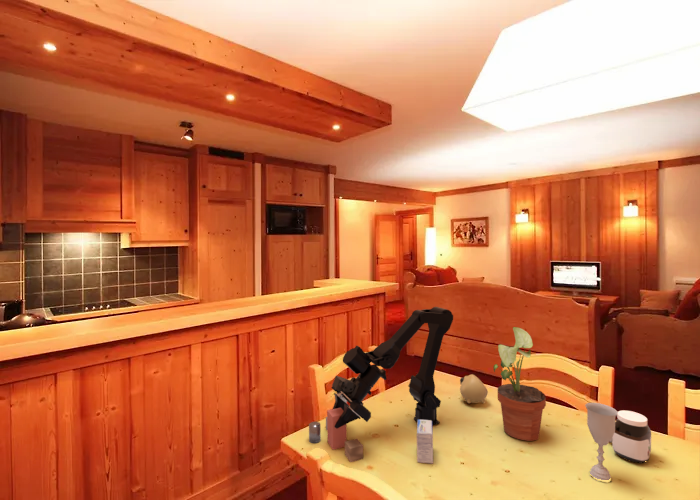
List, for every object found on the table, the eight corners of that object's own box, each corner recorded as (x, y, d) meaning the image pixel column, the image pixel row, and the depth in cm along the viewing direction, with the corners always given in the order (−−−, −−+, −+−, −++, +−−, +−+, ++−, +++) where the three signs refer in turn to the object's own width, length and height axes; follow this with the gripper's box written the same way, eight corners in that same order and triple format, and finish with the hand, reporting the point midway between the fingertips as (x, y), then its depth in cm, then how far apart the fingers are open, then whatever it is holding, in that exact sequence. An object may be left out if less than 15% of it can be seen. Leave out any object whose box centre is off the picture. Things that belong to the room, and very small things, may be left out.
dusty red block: (341, 438, 115) (340, 407, 115) (346, 446, 111) (346, 413, 111) (327, 442, 113) (327, 410, 113) (332, 449, 109) (332, 416, 109)
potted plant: (489, 419, 126) (489, 318, 125) (537, 423, 123) (538, 320, 122) (498, 444, 111) (498, 330, 110) (553, 450, 108) (554, 332, 106)
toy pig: (481, 395, 146) (481, 368, 145) (491, 409, 134) (491, 380, 133) (456, 394, 146) (456, 368, 146) (463, 408, 134) (463, 380, 134)
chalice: (578, 468, 99) (578, 403, 98) (601, 467, 100) (602, 401, 99) (598, 486, 92) (599, 416, 91) (624, 485, 92) (625, 414, 92)
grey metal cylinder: (318, 436, 117) (318, 420, 117) (322, 441, 113) (322, 425, 113) (307, 438, 115) (307, 423, 115) (311, 444, 112) (310, 428, 112)
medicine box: (433, 464, 102) (433, 433, 101) (416, 462, 102) (416, 432, 102) (432, 448, 109) (432, 420, 109) (417, 446, 110) (417, 418, 110)
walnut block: (357, 451, 108) (357, 438, 108) (363, 459, 104) (362, 445, 104) (344, 455, 107) (344, 441, 106) (350, 462, 103) (350, 448, 103)
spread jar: (640, 469, 99) (640, 426, 98) (594, 448, 108) (594, 410, 108) (657, 454, 105) (658, 414, 105) (613, 436, 115) (613, 400, 114)
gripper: (336, 357, 121) (305, 396, 117) (361, 377, 104) (325, 423, 100) (358, 377, 125) (328, 416, 121) (385, 399, 108) (351, 445, 104)
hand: (332, 423), depth 111 cm, fingers closed on dusty red block, 4 cm apart
